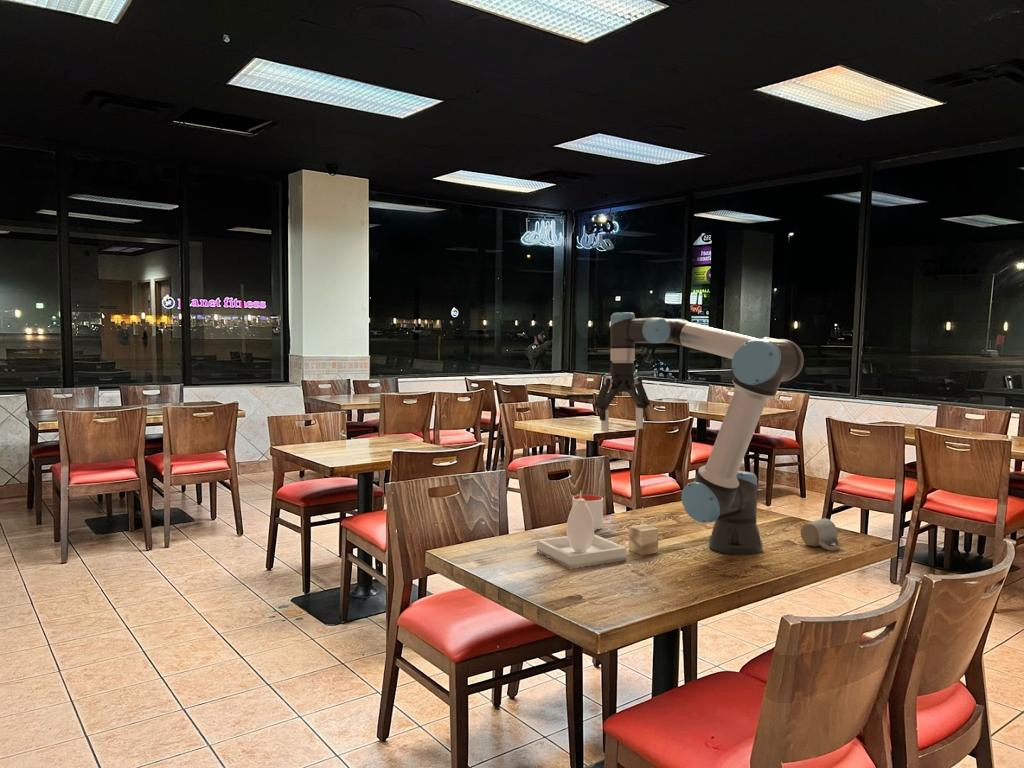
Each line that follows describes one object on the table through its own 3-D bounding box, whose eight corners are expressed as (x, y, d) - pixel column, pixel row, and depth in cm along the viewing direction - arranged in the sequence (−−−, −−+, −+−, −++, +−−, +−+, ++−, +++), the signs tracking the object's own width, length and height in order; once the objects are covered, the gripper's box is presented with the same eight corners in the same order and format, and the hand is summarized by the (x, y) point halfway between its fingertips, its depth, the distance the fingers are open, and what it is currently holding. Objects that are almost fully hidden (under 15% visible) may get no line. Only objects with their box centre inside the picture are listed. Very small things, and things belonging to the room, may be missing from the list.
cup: (566, 526, 244) (566, 496, 243) (592, 522, 248) (592, 493, 247) (582, 533, 235) (582, 502, 234) (608, 529, 239) (609, 499, 238)
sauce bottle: (562, 549, 212) (562, 488, 211) (587, 547, 214) (587, 486, 213) (572, 557, 205) (573, 493, 204) (598, 555, 207) (598, 491, 206)
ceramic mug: (798, 543, 222) (798, 518, 222) (817, 540, 226) (818, 515, 225) (826, 553, 213) (827, 527, 212) (846, 549, 216) (847, 524, 216)
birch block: (658, 552, 213) (658, 528, 213) (641, 555, 211) (641, 531, 210) (645, 547, 219) (645, 524, 218) (628, 549, 216) (629, 526, 216)
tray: (626, 560, 206) (626, 547, 205) (569, 569, 197) (569, 556, 197) (590, 544, 222) (590, 532, 222) (536, 551, 214) (536, 540, 214)
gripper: (645, 361, 239) (645, 426, 240) (582, 362, 227) (582, 431, 228) (661, 361, 232) (660, 428, 234) (597, 363, 220) (597, 433, 221)
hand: (622, 429), depth 231 cm, fingers open, 13 cm apart
